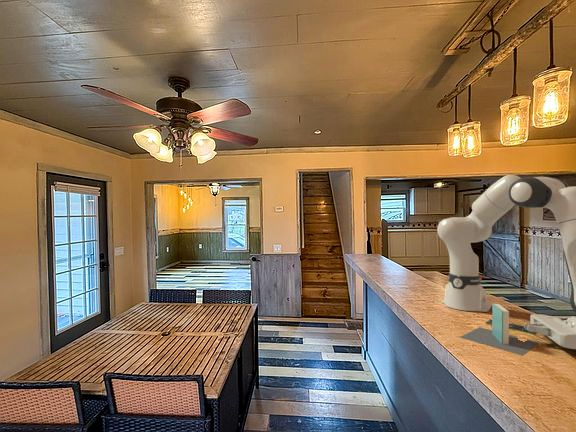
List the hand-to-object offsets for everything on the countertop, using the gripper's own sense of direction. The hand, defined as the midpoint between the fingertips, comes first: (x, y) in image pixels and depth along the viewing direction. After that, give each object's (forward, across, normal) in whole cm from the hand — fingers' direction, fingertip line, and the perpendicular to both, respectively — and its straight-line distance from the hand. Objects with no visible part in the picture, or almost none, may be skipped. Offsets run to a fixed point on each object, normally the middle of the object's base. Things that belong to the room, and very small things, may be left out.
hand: (525, 327), depth 100 cm
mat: (+8, +1, +5) cm, 9 cm away
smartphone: (-1, -15, +6) cm, 16 cm away
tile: (+7, 0, +4) cm, 8 cm away
